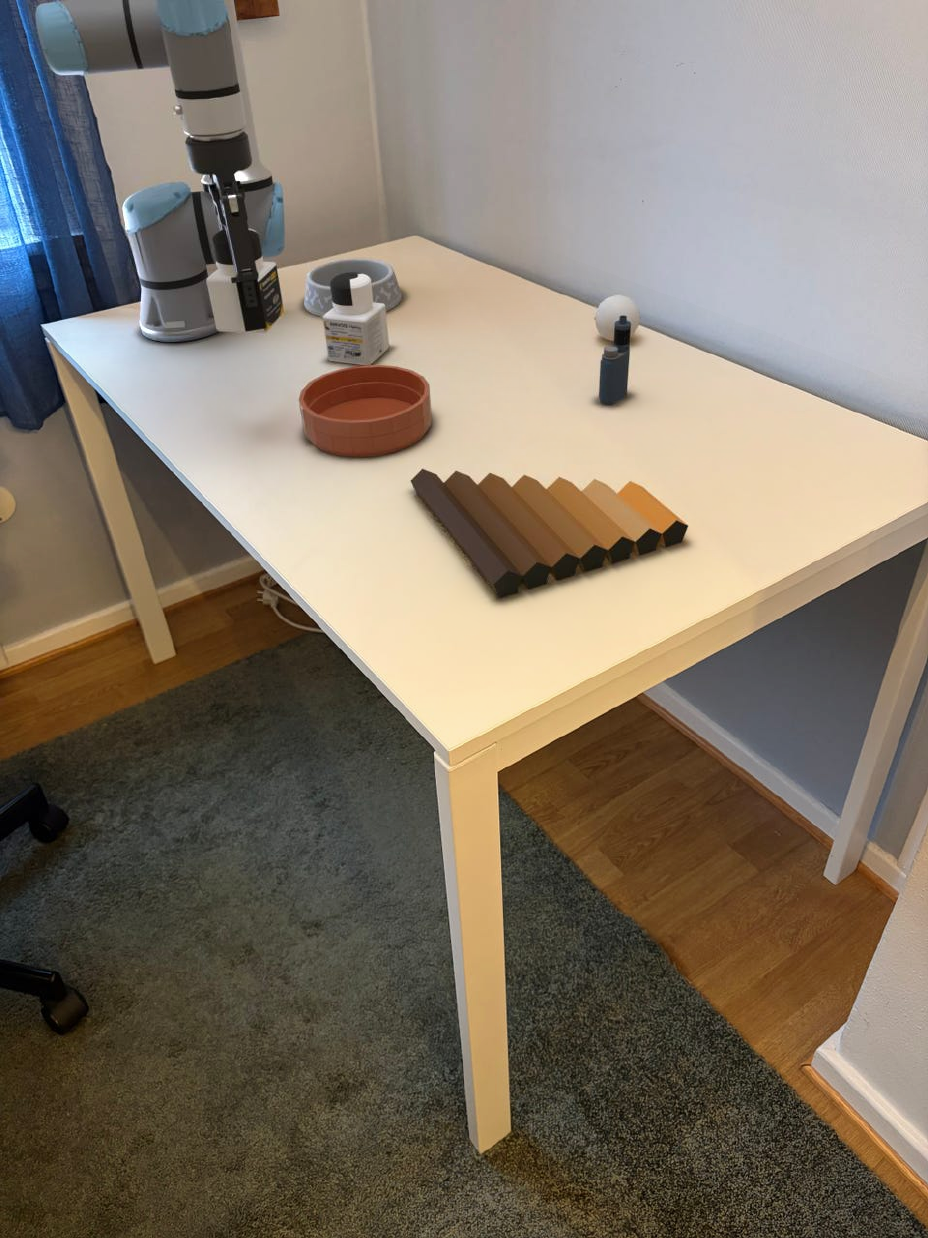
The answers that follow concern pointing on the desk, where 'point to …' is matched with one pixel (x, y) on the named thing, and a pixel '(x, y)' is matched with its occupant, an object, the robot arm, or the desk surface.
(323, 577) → the desk surface
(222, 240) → the medicine bottle
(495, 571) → the pan flute
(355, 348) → the container
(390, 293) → the dog bowl
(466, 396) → the desk surface
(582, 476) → the desk surface
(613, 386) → the vaping device
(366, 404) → the bowl
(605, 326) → the white egg
